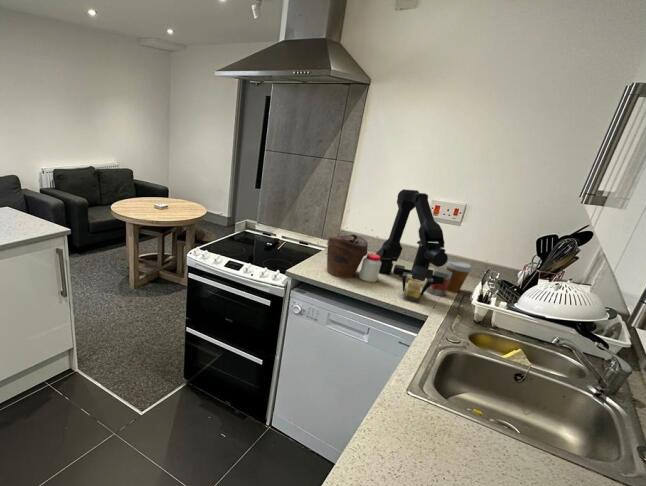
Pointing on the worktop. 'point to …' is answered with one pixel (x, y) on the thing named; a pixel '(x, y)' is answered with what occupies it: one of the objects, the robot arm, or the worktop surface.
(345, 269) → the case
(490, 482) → the worktop surface
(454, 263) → the disposable coffee cup
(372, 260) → the pill bottle
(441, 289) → the tin can
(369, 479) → the worktop surface
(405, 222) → the robot arm
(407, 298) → the golden brown bar
